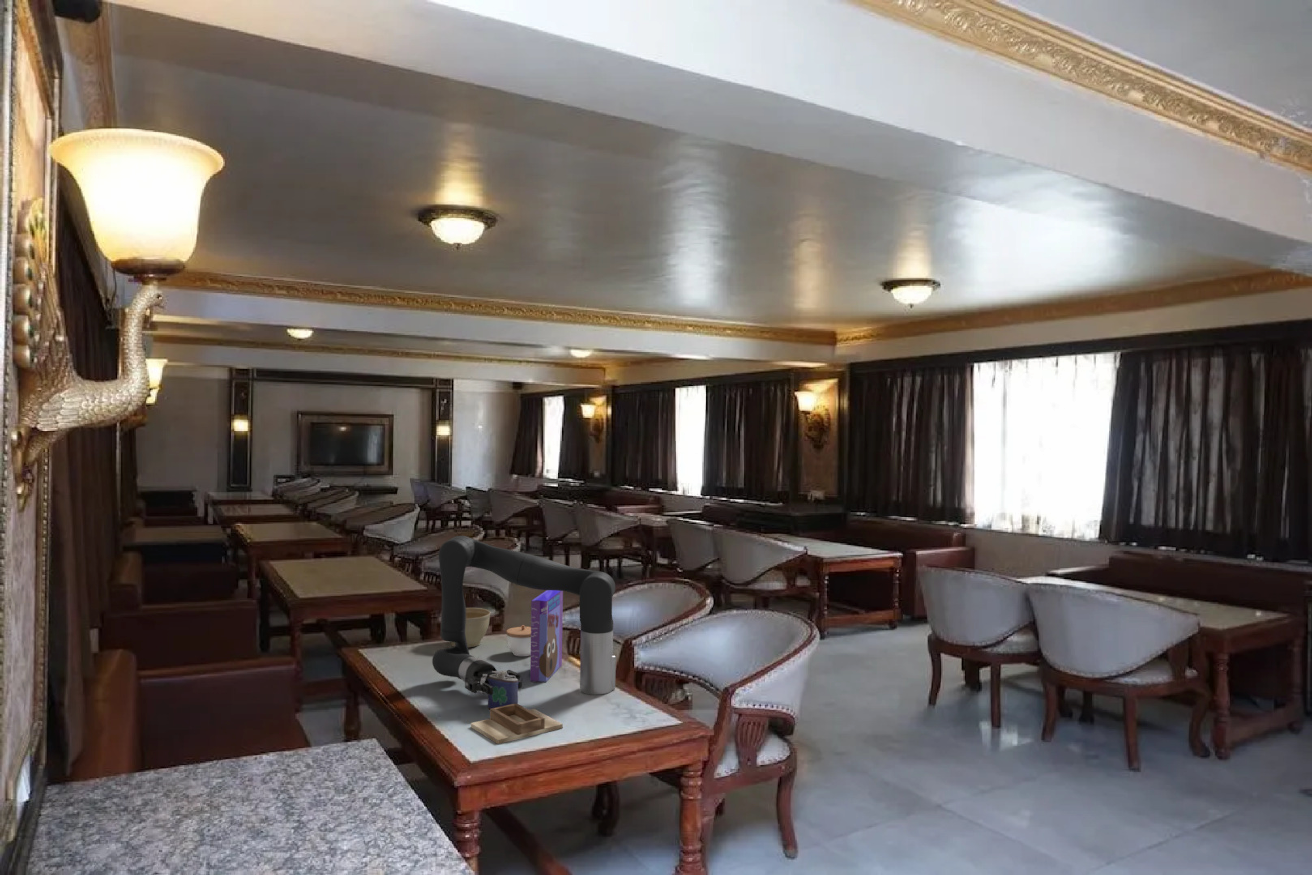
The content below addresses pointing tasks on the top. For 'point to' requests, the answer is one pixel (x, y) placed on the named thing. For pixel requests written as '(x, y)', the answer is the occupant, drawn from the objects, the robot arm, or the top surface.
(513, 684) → the flask
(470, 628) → the planter bowl
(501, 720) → the slot board
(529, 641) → the lidded jar
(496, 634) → the top surface
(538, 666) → the cereal box
